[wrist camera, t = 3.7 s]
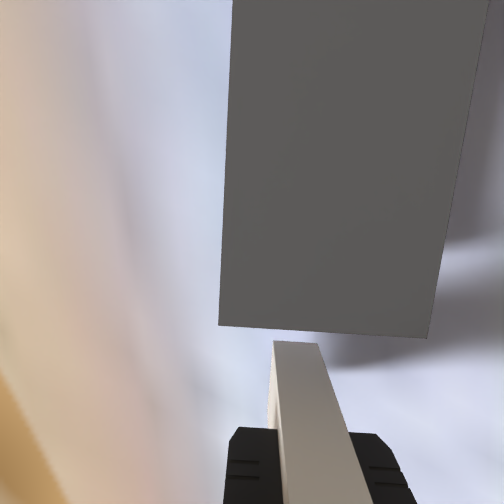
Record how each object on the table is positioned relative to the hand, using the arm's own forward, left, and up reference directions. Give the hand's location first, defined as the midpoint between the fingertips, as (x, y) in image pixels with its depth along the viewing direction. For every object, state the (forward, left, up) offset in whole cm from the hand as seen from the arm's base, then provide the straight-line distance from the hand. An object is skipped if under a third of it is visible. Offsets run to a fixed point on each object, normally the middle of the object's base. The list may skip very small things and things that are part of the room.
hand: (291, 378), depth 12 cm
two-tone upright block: (+12, 0, -2) cm, 12 cm away
